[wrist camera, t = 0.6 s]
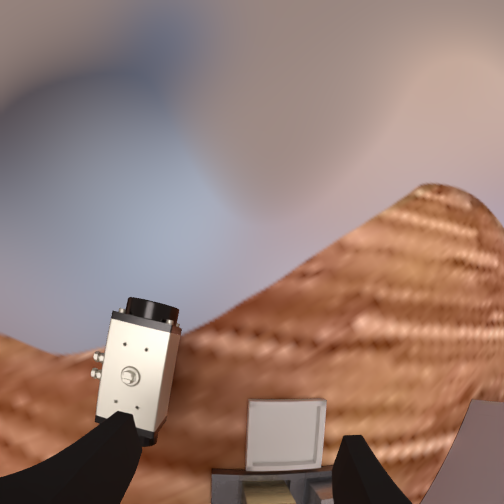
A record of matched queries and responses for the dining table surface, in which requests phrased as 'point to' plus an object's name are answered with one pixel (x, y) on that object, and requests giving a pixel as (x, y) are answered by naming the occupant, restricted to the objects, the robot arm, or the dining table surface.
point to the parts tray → (285, 434)
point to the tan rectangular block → (266, 492)
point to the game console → (473, 460)
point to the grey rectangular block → (318, 491)
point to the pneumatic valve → (139, 366)
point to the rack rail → (230, 481)
